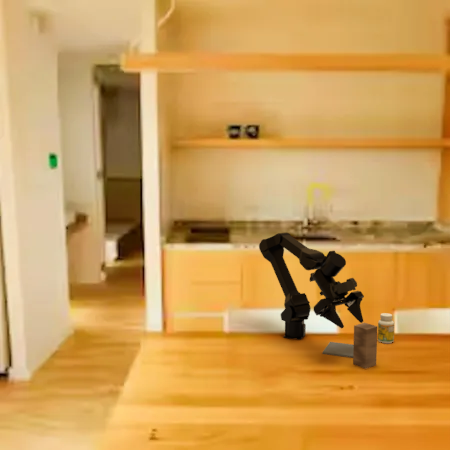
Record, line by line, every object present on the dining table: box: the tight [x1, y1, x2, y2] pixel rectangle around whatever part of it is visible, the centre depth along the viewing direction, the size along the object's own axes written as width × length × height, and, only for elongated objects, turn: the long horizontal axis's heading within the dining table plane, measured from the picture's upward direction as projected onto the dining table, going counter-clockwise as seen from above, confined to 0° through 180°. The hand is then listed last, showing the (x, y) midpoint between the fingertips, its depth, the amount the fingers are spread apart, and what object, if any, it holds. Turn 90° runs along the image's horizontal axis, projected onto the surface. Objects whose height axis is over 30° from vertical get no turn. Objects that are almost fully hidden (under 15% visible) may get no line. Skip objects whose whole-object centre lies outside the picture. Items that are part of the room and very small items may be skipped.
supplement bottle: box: [377, 312, 395, 344], centre depth 205 cm, size 5×5×10 cm
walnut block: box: [352, 322, 378, 369], centre depth 184 cm, size 5×5×12 cm
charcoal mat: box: [322, 341, 354, 359], centre depth 197 cm, size 11×11×1 cm
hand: (352, 324), depth 187 cm, fingers open, 9 cm apart
